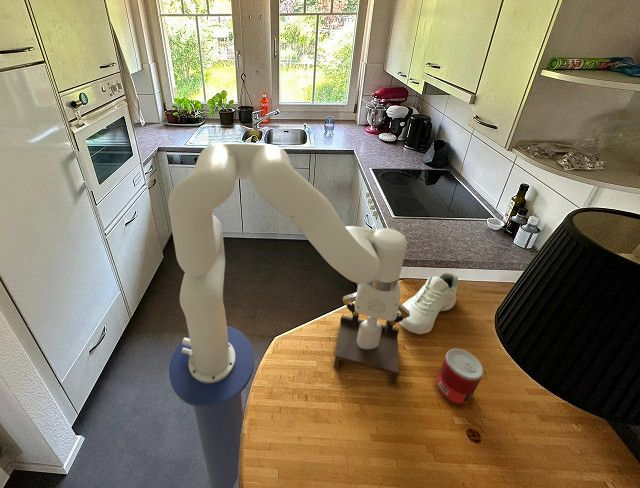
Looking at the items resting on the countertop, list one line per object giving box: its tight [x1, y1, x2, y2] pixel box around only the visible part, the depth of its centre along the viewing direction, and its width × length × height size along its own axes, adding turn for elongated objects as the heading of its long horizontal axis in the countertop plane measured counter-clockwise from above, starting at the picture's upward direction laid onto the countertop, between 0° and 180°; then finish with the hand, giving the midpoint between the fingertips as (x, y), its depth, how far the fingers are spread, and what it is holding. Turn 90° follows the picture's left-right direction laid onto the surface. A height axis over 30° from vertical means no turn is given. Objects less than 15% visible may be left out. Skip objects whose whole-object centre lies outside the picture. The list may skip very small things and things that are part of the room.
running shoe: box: [398, 272, 459, 335], centre depth 101 cm, size 11×27×14 cm, turn 130°
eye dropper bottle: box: [357, 316, 382, 349], centre depth 86 cm, size 4×6×12 cm
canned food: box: [436, 348, 484, 405], centre depth 80 cm, size 8×8×11 cm
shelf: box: [333, 315, 400, 385], centre depth 89 cm, size 16×12×7 cm
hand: (371, 326), depth 85 cm, fingers open, 7 cm apart
